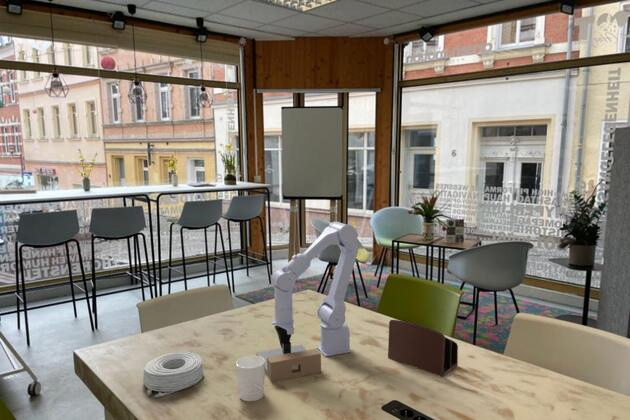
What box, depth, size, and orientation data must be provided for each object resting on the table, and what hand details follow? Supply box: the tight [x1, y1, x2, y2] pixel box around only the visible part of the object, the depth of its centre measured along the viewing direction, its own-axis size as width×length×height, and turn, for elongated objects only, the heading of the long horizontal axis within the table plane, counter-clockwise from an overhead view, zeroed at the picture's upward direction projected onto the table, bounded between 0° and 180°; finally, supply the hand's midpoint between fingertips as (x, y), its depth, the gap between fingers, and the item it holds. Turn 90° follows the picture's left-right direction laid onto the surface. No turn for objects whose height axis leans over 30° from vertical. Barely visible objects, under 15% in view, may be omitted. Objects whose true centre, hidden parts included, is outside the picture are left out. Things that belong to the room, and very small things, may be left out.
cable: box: [141, 351, 205, 398], centre depth 136 cm, size 18×18×6 cm
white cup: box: [235, 354, 266, 402], centre depth 126 cm, size 8×8×10 cm
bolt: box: [282, 340, 298, 370], centre depth 142 cm, size 10×2×5 cm, turn 21°
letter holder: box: [387, 319, 459, 378], centre depth 145 cm, size 10×20×14 cm, turn 47°
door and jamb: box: [255, 344, 322, 383], centre depth 144 cm, size 18×16×6 cm
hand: (284, 347), depth 147 cm, fingers closed
